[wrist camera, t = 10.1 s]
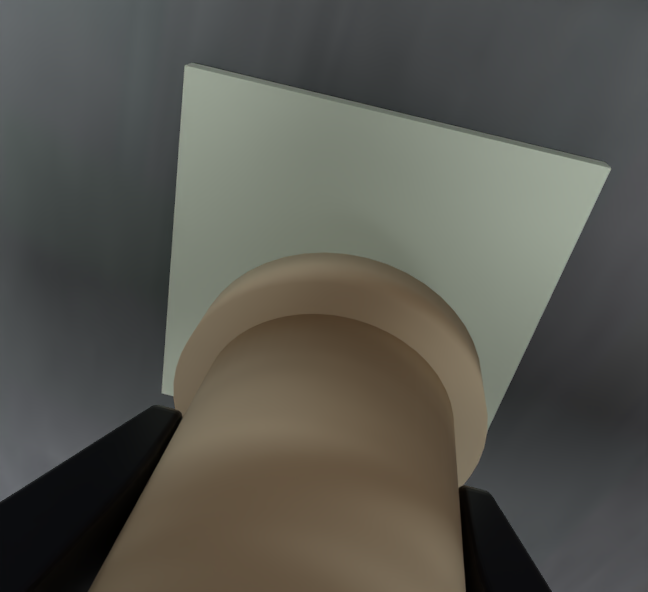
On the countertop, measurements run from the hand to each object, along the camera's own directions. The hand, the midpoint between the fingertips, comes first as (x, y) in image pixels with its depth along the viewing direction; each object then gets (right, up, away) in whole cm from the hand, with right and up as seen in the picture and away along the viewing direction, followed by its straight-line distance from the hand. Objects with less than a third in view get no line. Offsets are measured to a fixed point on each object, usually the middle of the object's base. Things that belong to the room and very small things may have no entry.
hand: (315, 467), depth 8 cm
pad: (+1, +3, +5) cm, 5 cm away
